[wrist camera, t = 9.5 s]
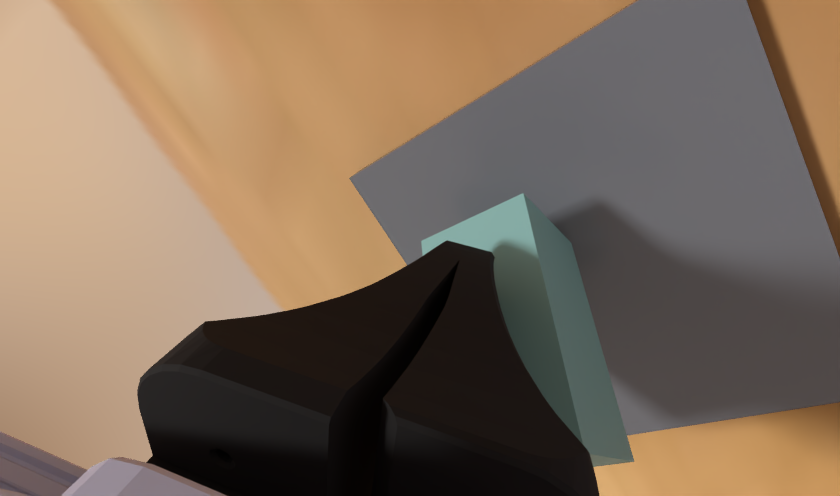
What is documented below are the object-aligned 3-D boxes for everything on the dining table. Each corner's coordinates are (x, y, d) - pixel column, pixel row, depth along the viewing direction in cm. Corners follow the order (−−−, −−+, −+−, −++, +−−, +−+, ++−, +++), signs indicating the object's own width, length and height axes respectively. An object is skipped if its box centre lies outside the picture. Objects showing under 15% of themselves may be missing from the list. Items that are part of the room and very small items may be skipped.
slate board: (878, 380, 14) (889, 394, 14) (532, 439, 20) (531, 450, 20) (720, -52, 11) (726, -55, 10) (356, 173, 17) (349, 178, 16)
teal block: (571, 242, 15) (634, 461, 11) (479, 278, 16) (509, 477, 13) (523, 192, 12) (584, 453, 9) (421, 240, 14) (440, 474, 11)
